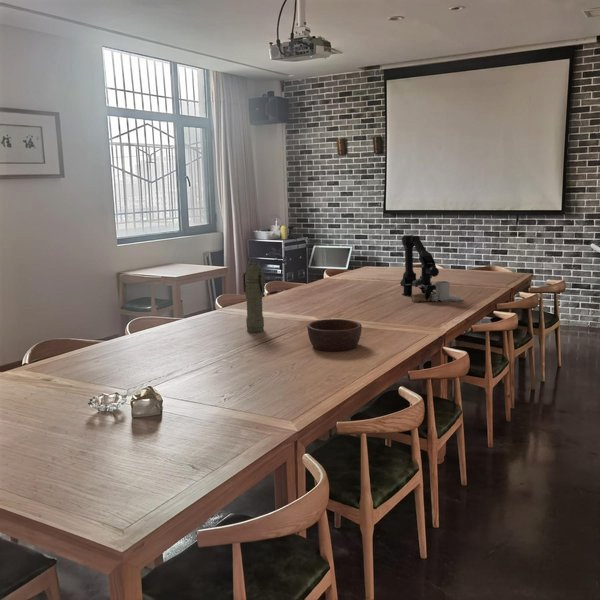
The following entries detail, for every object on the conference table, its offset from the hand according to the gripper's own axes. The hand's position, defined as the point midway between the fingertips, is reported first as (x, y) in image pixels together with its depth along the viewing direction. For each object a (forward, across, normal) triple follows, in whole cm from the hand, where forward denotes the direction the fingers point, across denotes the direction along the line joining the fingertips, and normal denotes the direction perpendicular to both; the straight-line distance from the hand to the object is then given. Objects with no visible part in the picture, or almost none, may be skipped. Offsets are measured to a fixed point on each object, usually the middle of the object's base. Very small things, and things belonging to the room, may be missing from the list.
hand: (425, 299), depth 390 cm
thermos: (+1, +51, -115) cm, 126 cm away
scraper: (+1, 0, -2) cm, 2 cm away
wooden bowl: (+1, +92, -83) cm, 123 cm away
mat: (+1, 0, +15) cm, 15 cm away
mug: (+1, 0, +10) cm, 10 cm away
